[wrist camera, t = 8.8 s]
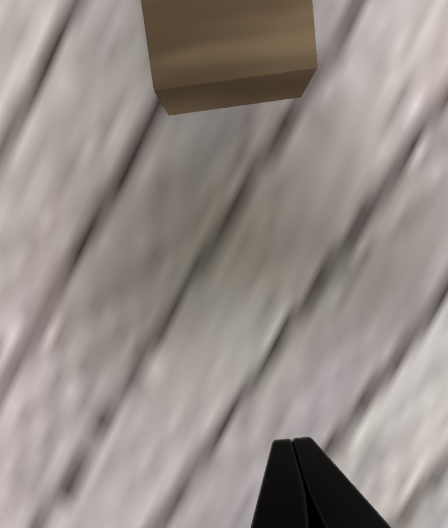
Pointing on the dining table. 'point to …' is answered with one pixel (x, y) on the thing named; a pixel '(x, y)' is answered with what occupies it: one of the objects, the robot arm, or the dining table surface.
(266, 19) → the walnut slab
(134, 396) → the dining table surface
